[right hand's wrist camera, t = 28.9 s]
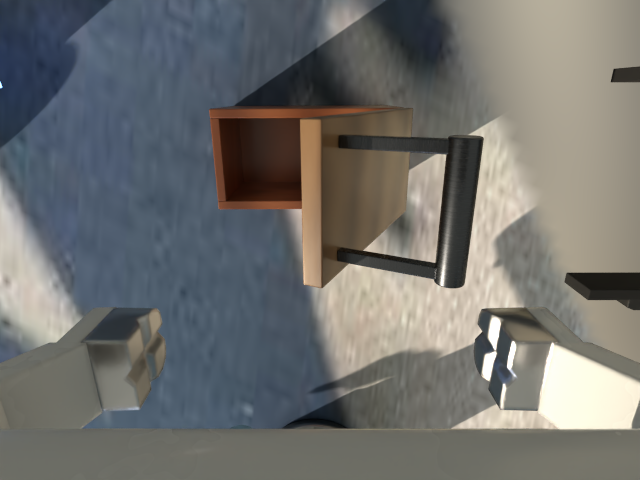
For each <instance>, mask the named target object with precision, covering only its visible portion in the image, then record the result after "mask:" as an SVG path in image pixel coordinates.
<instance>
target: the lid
mask: <svg viewBox="0 0 640 480" xmlns="http://www.w3.org/2000/svg"><path fill="white" fill-rule="evenodd" d="M412 116H413V108H395V109H385V110H376V111H366V112H357V113H347V114H337V115H328V116H318V117H309V118H301V119H300V137H301V183H302V229H303V275H304V284H305V285H309V286H314V287H318V288H323V287H324V286H325V285H326V284H327V283H329V282H330V281H331V280H332V279H333V278H334V277H335V276H336V275H337V274H338V273H339V272H340V271H341V270H343V269H344V268H345V267H346V266H347V265H348V264H349V263H350V264H355V265H361V266H366V267H371V268H377V269H382V270H387V271H393V272H398V273H403V274H409V275H414V276H420V277H425V278H430V279H434V281H435V283H436V284H438V285H440V286H442V287H446V288H460V287H462V286H463V285H464V284H465V277H466V269H467V261H468V254H469V246H470V239H471V231H472V223H473V216H474V208H475V201H476V193H477V185H478V178H479V170H480V162H481V155H482V147H483V140H484V138H483V137H481V136H473V135H453V136H449V137H448V139H447V138H421V137H411V131H412ZM410 152H413V153H431V154H447V155H446V165H445V175H444V184H443V194H442V204H441V214H440V224H439V233H438V243H437V253H436V263H432V262H426V261H420V260H414V259H408V258H402V257H396V256H391V255H385V254H379V253H373V252H367V251H363V250H364V249H365V248H366V247H367V246H368V245H369V244H371V243H372V242H373V241H374V240H375V239H376V238H377V237H378V236H379V235H380V234H381V233H382V232H383V231H385V230H386V229H387V228H388V227H389V226H390V225H391V224H392V223H393V222H394V221H395V220H396V219H397V218H399V217H400V216H401V215H402V214H403V213H404V212H405V211H406V201H407V187H408V173H409V159H410Z"/></svg>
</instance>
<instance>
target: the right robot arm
mask: <svg viewBox="0 0 640 480" xmlns="http://www.w3.org/2000/svg"><path fill="white" fill-rule="evenodd" d="M0 88H2V85H1V83H0ZM161 325H162V319H161V314H160V312H159V311H158V309H157V308H116V307H102V308H93V309H92V310H91V311H90V312H89V313H88V314H87V315H86V316H85V317H84V318H82V319H81V320H80V321H79V322H78V323H77V324H76V325H75V326H74V327H73V328H72V329H71V330H69V331H68V332H67V333H66V334H65V335H64V336H63V337H62V338H61V339H60V340H59V341H58V342H57V343H48V344H45V345H43V346H41V347H38V348H36V349H33V350H31V351H29V352H26V353H24V354H21V355H19V356H16V357H14V358H12V359H9V360H7V361H4V362H2V363H0V480H640V363H638V362H635V361H633V360H631V359H628V358H626V357H623V356H621V355H619V354H616V353H614V352H611V351H609V350H607V349H604V348H602V347H599V346H597V345H595V344H592V343H583V342H582V341H581V340H580V339H579V338H578V337H577V336H576V335H575V334H574V333H573V332H572V331H571V330H570V329H568V328H567V327H566V326H565V325H564V324H563V323H562V322H561V321H560V320H559V319H558V318H557V317H556V316H554V315H553V314H552V313H551V312H550V311H549V310H548V309H546V308H543V307H531V308H487V309H482V310H481V312H480V314H479V319H478V325H479V327H480V328H481V330H482V331H483V332H482V333H481V334H480V335H479V336H478V337H477V338H476V339H475V345H474V358H475V364H476V367H477V370H478V371H479V373H480V375H481V377H483V378H484V379H486V380H487V381H489V382H490V384H489V391H490V393H491V394H492V396H493V398H494V399H495V401H496V403H497V405H498V406H499V408H500V410H529V411H538V413H539V414H540V415H542V416H543V417H544V418H546V419H547V420H548V421H550V422H551V423H552V424H554V425H555V426H556V427H558V428H559V429H81V428H82V427H84V426H85V425H86V424H88V423H89V422H90V421H92V420H93V419H94V418H96V417H97V416H98V415H100V414H101V413H102V411H111V410H140V408H141V406H142V405H143V403H144V401H145V400H146V398H147V396H148V394H149V393H150V391H151V384H150V382H151V381H153V380H154V379H156V378H157V377H159V375H160V373H161V371H162V370H163V367H164V363H165V359H166V344H165V339H164V338H163V337H162V336H161V335H160V334H159V333H158V332H157V331H158V330H159V328H160V327H161Z"/></svg>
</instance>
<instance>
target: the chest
mask: <svg viewBox="0 0 640 480" xmlns="http://www.w3.org/2000/svg"><path fill="white" fill-rule="evenodd" d="M395 108H402V107H395V106H388V105H335V106H230V107H221V108H213V109H209V111H210V118H211V119H210V121H211V132H212V142H213V153H214V163H215V174H216V184H217V195H218V205H219V209H302V183H301V137H300V119H301V118H309V117H318V116H328V115H337V114H347V113H357V112H366V111H376V110H385V109H395Z"/></svg>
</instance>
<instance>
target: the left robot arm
mask: <svg viewBox="0 0 640 480" xmlns="http://www.w3.org/2000/svg"><path fill="white" fill-rule="evenodd" d="M611 82H640V67H630V68H619V69H614V70H613V74H612V79H611ZM565 283H566V284H568V285H569V286H570V287H572V288H573V289H574V290H576V291H577V292H578V293H579V294H581V295H582V296H583V297H585V298H586V299H587V300H617V301H619V302H620V303H622V304H623V305H625V306H626V307H627V308H630V309H633V310H640V273H567V274H566V278H565ZM230 429H252V428H251V427H249V426H246V425H239V426H235V427H232V428H230ZM282 429H346V428H345V427H343V426H341V425H339V424H337V423H334V422H331V421H326V420H320V419H308V420H302V421H297V422H294V423H291V424H289V425H287V426H285V427H284V428H282Z"/></svg>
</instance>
